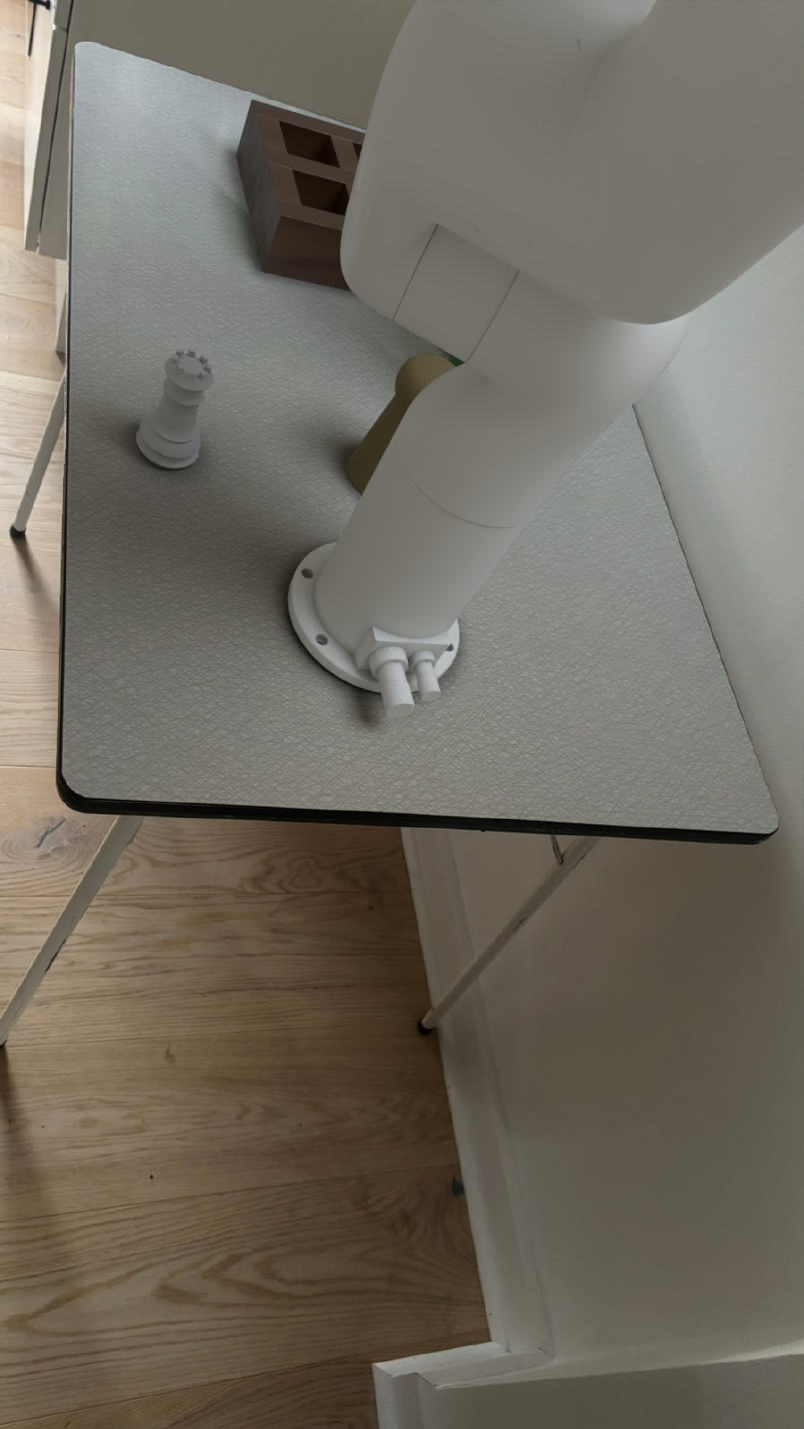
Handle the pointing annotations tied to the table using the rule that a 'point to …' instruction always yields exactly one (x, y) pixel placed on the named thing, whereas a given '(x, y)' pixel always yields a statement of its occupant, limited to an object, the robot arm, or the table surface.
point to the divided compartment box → (298, 190)
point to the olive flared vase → (394, 414)
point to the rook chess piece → (176, 413)
